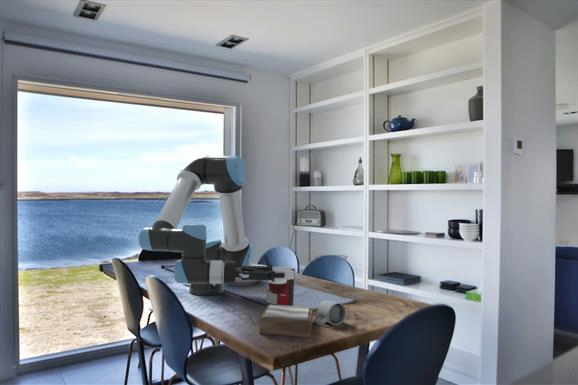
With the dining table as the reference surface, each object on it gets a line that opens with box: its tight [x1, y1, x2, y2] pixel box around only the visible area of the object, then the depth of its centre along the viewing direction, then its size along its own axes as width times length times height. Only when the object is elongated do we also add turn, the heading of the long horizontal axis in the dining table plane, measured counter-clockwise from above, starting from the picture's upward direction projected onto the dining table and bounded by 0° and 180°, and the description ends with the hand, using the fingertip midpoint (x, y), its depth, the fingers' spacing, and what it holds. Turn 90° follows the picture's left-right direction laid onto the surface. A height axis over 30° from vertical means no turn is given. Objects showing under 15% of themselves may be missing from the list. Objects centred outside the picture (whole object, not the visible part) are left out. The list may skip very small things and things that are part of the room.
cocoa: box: [263, 254, 290, 294], centre depth 138 cm, size 10×6×12 cm, turn 47°
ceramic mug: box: [312, 300, 347, 326], centre depth 146 cm, size 11×8×8 cm
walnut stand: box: [259, 304, 313, 338], centre depth 138 cm, size 16×16×6 cm
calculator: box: [266, 265, 296, 306], centre depth 168 cm, size 11×4×15 cm, turn 62°
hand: (292, 273), depth 139 cm, fingers closed on cocoa, 6 cm apart
